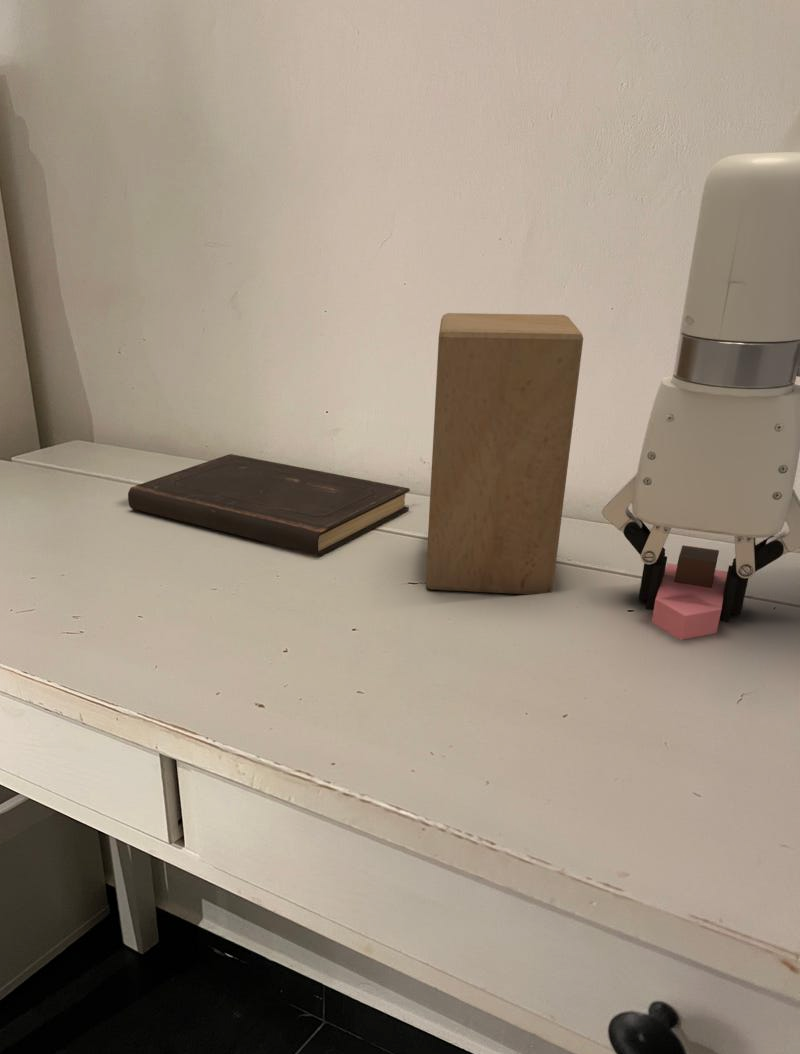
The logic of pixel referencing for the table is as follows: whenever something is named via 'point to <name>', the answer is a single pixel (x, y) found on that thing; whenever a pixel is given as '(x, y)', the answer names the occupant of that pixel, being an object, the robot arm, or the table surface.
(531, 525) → the wooden block
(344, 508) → the hardcover book
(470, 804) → the table surface
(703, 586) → the pink and brown blocks
